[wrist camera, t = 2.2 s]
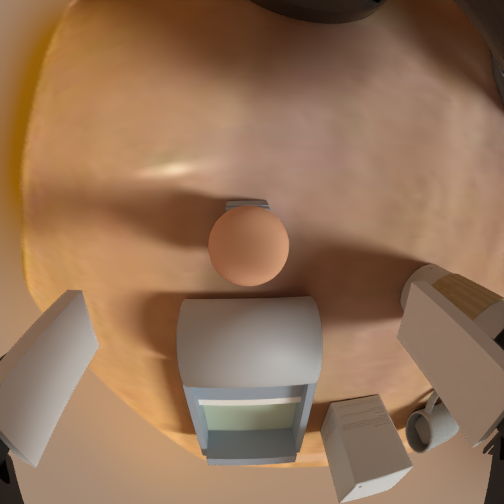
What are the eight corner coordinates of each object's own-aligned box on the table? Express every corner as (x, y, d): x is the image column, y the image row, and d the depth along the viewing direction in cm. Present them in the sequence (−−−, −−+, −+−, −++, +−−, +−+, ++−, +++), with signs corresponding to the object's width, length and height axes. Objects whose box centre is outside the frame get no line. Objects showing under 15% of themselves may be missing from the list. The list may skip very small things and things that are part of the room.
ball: (210, 199, 19) (200, 216, 14) (283, 199, 19) (297, 214, 14) (214, 267, 21) (206, 301, 16) (281, 266, 21) (293, 299, 16)
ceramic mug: (435, 417, 35) (451, 445, 28) (400, 429, 35) (415, 461, 28) (458, 377, 32) (481, 406, 25) (422, 389, 32) (445, 424, 24)
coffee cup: (387, 342, 27) (450, 445, 13) (381, 266, 24) (483, 371, 10) (453, 309, 26) (527, 385, 12) (456, 235, 23) (562, 300, 9)
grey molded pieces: (172, 199, 23) (141, 221, 16) (319, 196, 23) (353, 218, 16) (205, 424, 34) (201, 470, 26) (293, 422, 34) (302, 467, 27)
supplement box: (318, 431, 33) (336, 504, 21) (330, 400, 30) (355, 485, 18) (364, 423, 33) (389, 490, 21) (381, 392, 30) (415, 466, 19)
